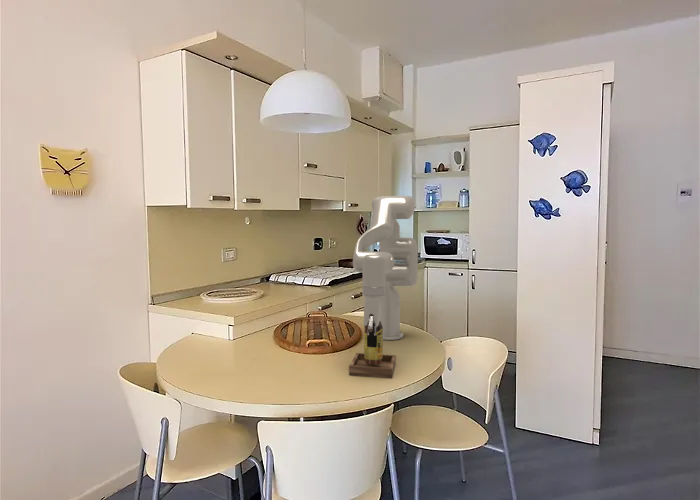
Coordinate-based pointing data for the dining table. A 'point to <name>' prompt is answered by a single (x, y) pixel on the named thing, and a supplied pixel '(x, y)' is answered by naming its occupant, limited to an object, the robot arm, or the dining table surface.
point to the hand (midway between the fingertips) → (373, 343)
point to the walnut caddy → (372, 367)
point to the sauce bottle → (374, 353)
